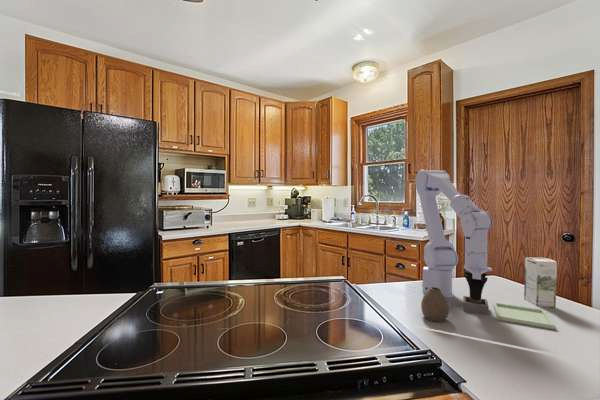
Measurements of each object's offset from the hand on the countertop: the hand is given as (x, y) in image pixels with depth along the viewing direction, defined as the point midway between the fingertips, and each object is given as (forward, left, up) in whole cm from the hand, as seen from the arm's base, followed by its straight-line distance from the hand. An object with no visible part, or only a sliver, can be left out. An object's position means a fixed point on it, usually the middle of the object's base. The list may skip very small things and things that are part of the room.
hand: (475, 297), depth 87 cm
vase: (-10, -13, -4) cm, 17 cm away
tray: (+11, 0, -4) cm, 12 cm away
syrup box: (+18, +16, -4) cm, 24 cm away
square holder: (0, 0, -4) cm, 4 cm away
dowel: (0, 0, -3) cm, 3 cm away
